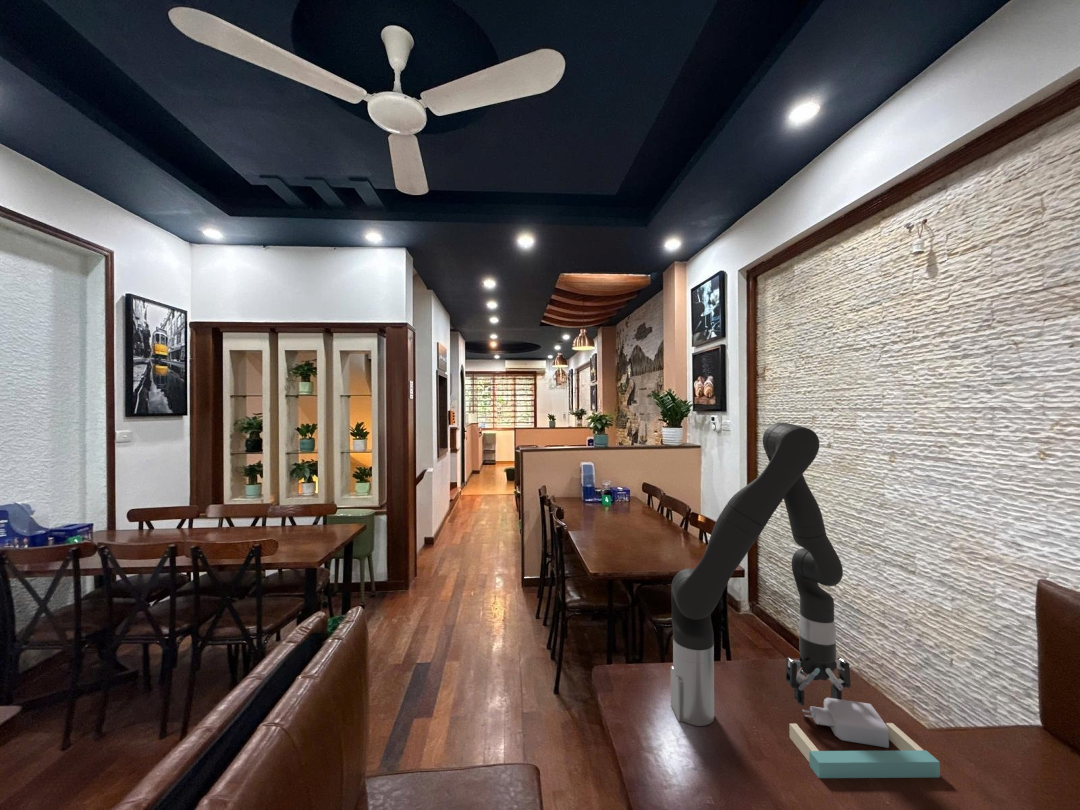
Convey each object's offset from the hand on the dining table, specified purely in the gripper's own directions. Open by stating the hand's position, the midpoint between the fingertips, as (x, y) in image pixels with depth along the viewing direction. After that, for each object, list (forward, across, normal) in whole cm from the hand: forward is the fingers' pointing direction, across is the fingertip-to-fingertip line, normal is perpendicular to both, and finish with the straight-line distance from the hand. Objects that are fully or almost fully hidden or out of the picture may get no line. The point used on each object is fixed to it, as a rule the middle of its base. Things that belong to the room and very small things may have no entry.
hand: (817, 703), depth 106 cm
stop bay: (+2, 0, -14) cm, 14 cm away
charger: (+3, +2, -5) cm, 6 cm away
